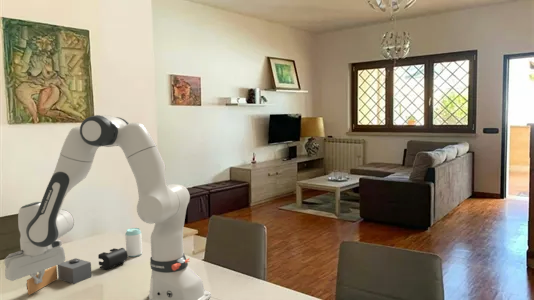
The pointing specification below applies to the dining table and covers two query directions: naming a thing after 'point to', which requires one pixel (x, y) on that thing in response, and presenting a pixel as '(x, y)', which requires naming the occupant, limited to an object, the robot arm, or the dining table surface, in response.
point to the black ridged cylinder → (112, 258)
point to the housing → (74, 270)
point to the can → (133, 242)
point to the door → (47, 278)
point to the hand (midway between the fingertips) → (38, 282)
